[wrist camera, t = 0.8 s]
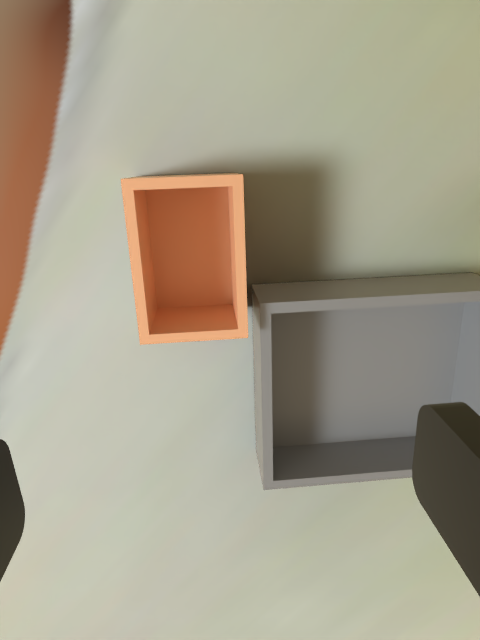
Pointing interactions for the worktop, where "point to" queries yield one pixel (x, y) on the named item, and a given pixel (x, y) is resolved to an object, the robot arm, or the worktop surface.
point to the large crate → (358, 372)
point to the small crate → (187, 256)
